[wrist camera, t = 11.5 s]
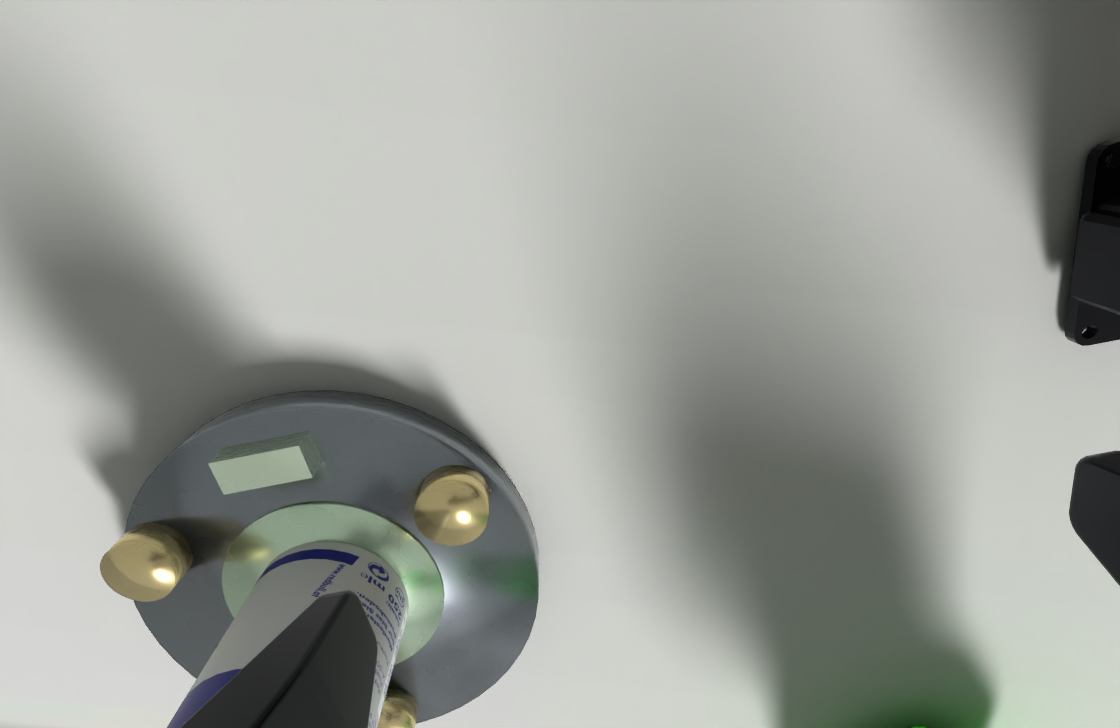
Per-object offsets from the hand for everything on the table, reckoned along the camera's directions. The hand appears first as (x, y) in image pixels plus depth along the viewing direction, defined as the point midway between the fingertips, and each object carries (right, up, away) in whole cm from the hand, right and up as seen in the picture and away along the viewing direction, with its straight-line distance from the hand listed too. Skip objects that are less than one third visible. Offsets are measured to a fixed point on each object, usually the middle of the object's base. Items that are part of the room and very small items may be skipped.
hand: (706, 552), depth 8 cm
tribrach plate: (-10, -5, +16) cm, 20 cm away
